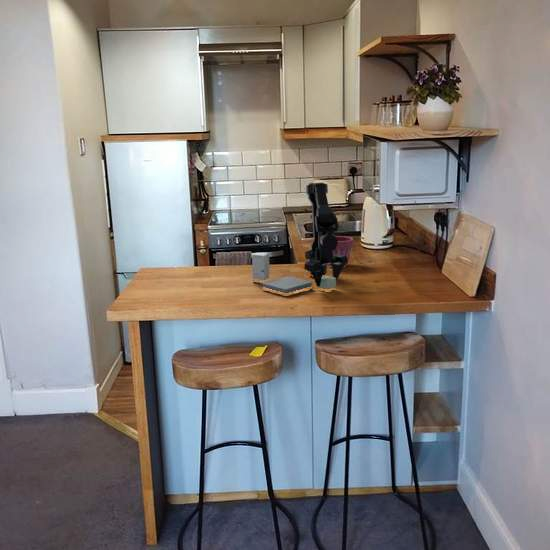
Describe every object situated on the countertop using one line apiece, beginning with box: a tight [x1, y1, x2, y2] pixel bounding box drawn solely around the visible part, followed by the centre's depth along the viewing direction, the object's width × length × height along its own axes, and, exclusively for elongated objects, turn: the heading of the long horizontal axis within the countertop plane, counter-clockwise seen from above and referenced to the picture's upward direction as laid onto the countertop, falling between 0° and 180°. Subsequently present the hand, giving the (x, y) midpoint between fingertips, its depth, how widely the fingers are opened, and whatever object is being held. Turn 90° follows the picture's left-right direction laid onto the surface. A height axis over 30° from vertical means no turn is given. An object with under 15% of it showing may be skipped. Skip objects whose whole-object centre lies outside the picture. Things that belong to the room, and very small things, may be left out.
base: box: [261, 276, 313, 293], centre depth 227 cm, size 14×14×3 cm
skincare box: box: [251, 252, 270, 280], centre depth 239 cm, size 6×4×12 cm
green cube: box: [319, 276, 337, 289], centre depth 225 cm, size 5×5×5 cm
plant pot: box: [327, 235, 354, 267], centre depth 261 cm, size 14×14×13 cm
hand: (326, 284), depth 225 cm, fingers open, 9 cm apart
